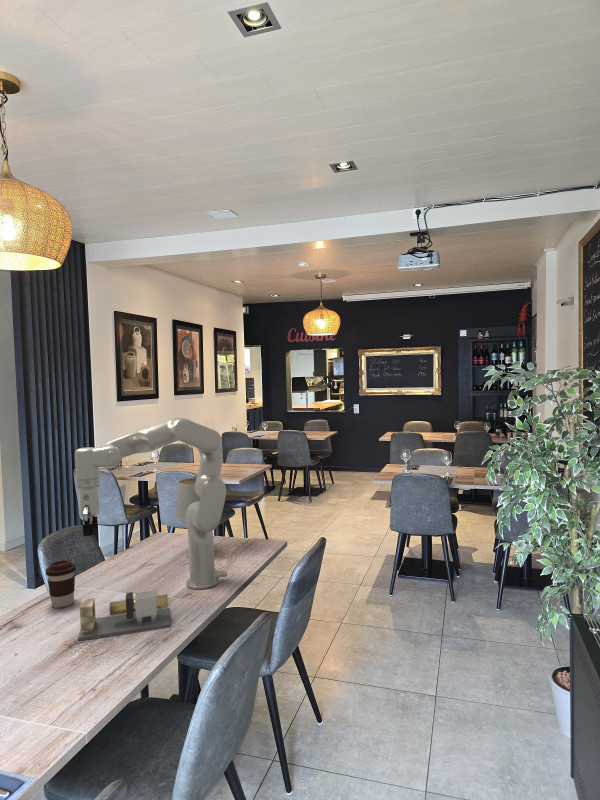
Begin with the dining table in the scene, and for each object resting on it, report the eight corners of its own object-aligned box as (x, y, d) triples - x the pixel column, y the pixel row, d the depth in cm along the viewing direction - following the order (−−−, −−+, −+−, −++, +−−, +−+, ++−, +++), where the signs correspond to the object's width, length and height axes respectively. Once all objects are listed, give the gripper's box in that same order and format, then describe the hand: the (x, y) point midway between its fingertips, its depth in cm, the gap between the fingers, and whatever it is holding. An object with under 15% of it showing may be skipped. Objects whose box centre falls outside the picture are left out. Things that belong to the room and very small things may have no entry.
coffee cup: (83, 600, 196) (81, 559, 195) (63, 611, 186) (61, 568, 186) (62, 597, 199) (59, 557, 199) (41, 608, 190) (38, 566, 189)
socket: (95, 622, 174) (94, 598, 174) (93, 631, 168) (92, 606, 168) (83, 623, 173) (82, 599, 173) (81, 632, 167) (79, 607, 167)
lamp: (186, 548, 253) (182, 477, 252) (224, 548, 251) (221, 476, 249) (170, 561, 234) (167, 485, 233) (212, 562, 232) (209, 484, 231)
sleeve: (157, 613, 179) (156, 590, 179) (157, 621, 173) (156, 596, 173) (137, 616, 177) (135, 592, 177) (136, 624, 172) (135, 599, 171)
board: (169, 610, 183) (169, 607, 183) (170, 626, 171) (170, 623, 171) (83, 623, 176) (83, 620, 176) (78, 640, 164) (77, 637, 164)
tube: (168, 606, 179) (167, 587, 179) (168, 612, 174) (167, 593, 174) (111, 614, 175) (110, 595, 175) (110, 621, 170) (109, 601, 170)
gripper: (95, 486, 179) (98, 537, 180) (102, 478, 196) (105, 524, 197) (71, 488, 177) (74, 539, 178) (81, 479, 194) (83, 526, 195)
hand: (90, 531), depth 187 cm, fingers open, 9 cm apart
